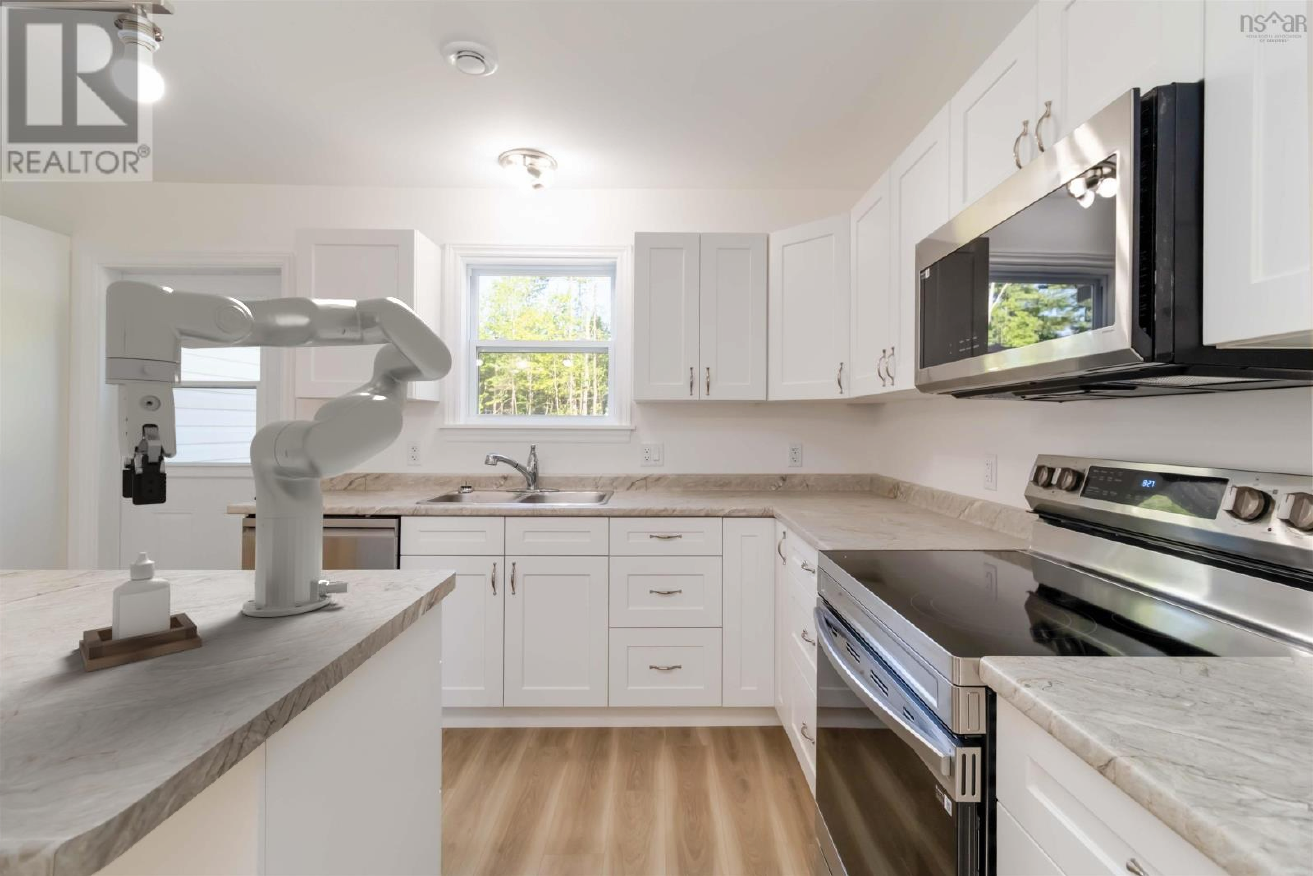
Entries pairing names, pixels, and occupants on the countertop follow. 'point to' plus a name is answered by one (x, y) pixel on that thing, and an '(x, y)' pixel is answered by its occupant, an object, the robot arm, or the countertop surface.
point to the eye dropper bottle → (141, 602)
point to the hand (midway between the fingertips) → (143, 500)
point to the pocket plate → (137, 644)
